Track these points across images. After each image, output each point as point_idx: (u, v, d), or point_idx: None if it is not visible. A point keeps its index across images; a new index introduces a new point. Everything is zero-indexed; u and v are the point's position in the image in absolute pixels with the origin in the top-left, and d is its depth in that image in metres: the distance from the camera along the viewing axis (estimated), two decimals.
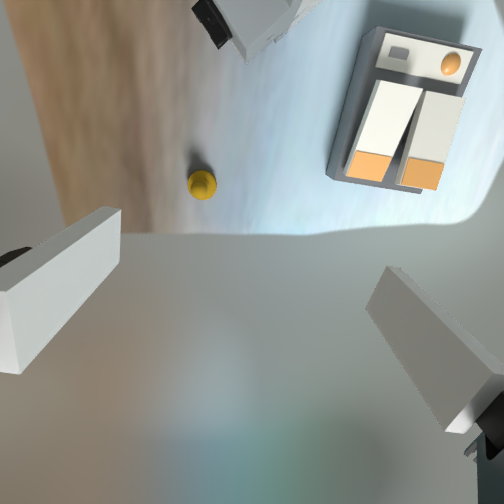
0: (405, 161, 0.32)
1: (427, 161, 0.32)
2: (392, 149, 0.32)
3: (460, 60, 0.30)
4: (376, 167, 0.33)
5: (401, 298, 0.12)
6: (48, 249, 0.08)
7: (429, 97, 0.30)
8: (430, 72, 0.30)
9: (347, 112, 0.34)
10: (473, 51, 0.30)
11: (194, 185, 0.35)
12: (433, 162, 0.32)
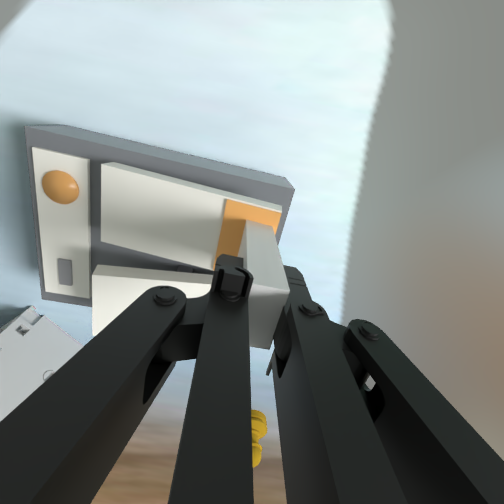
0: None
1: (220, 234, 0.16)
2: (199, 288, 0.18)
3: (50, 171, 0.16)
4: None
5: None
6: (256, 256, 0.11)
7: (110, 235, 0.16)
8: (79, 219, 0.18)
9: None
10: (32, 144, 0.16)
11: None
12: (223, 220, 0.15)
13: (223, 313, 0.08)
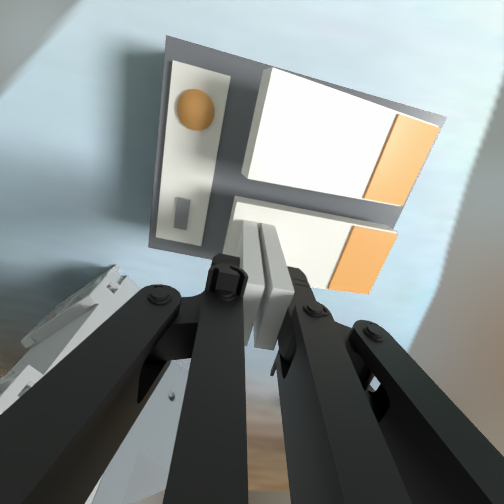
0: (364, 198, 0.16)
1: (381, 156, 0.15)
2: (339, 227, 0.16)
3: (188, 90, 0.14)
4: (366, 249, 0.17)
5: (260, 247, 0.14)
6: (252, 255, 0.11)
7: (261, 170, 0.13)
8: (208, 150, 0.16)
9: None
10: (171, 57, 0.14)
11: None
12: (386, 139, 0.14)
13: (218, 312, 0.08)
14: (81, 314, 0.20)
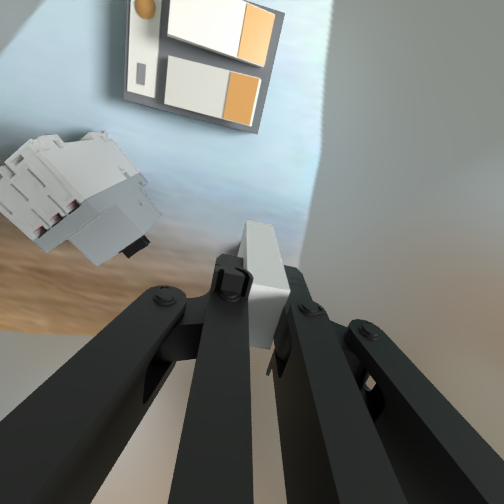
0: (240, 58, 0.29)
1: (242, 29, 0.28)
2: (223, 73, 0.29)
3: None
4: (241, 89, 0.29)
5: None
6: (256, 256, 0.11)
7: (174, 29, 0.26)
8: (154, 31, 0.29)
9: None
10: None
11: None
12: (244, 19, 0.27)
13: (223, 313, 0.08)
14: None
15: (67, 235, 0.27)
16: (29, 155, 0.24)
